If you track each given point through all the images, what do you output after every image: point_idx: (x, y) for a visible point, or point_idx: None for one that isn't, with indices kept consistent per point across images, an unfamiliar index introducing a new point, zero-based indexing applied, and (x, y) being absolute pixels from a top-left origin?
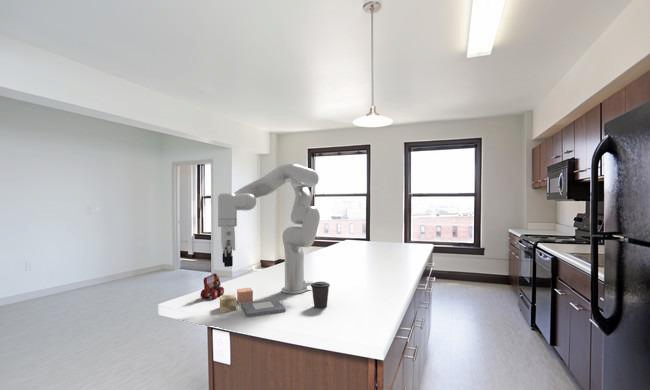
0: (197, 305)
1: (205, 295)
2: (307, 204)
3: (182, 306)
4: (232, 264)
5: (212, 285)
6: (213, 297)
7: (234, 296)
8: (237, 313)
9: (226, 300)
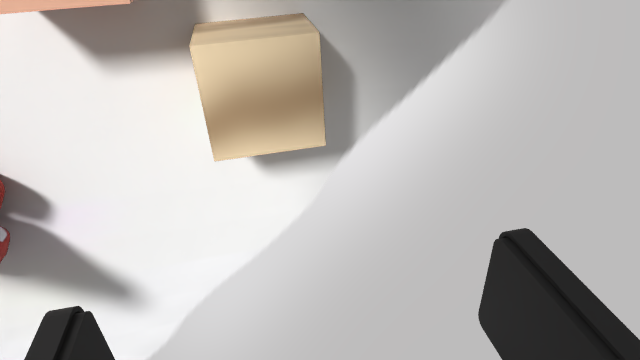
0: (138, 247)
1: (7, 246)
2: None
3: (143, 307)
4: (540, 243)
5: None
6: (4, 188)
7: (267, 46)
8: (376, 6)
9: (321, 104)
